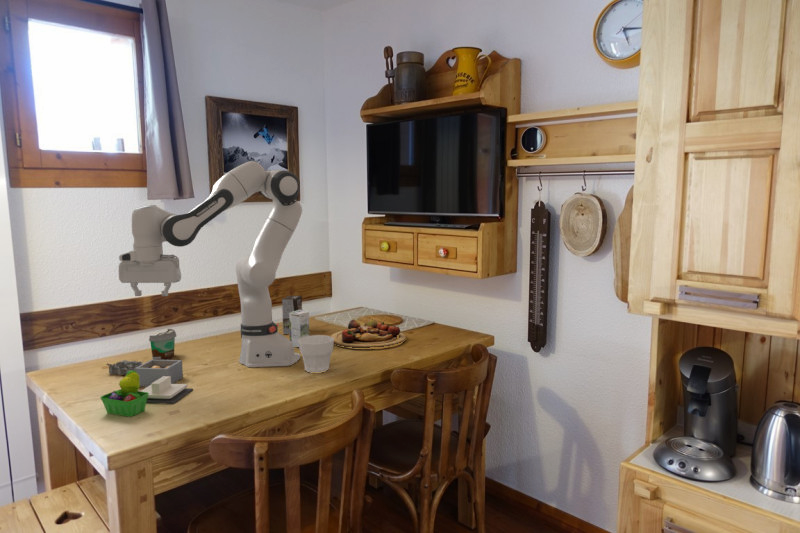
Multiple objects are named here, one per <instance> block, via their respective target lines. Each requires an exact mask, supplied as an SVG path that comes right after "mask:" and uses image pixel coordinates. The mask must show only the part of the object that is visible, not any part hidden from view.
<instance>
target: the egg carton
mask: <svg viewBox="0 0 800 533" xmlns="http://www.w3.org/2000/svg"><path fill="white" fill-rule="evenodd" d="M142 364H144V360H141V361H138V360H137V361H136V360H134V361H133V360H126V359H123V360H120V361H118V362H116V363H113V364H111V363H106V366H108V373H109V375H118V376H122V375H126V374H127V373H128V372H129V371H135V368H136V367H138V366H140V365H142Z"/></svg>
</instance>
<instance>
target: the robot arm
mask: <svg viewBox="0 0 800 533" xmlns="http://www.w3.org/2000/svg"><path fill="white" fill-rule="evenodd" d="M300 188H301V183H300V180H299V178H298V176H297V175H296V174H294V173H293V172H291V171H289V170H284V169H273V170H271V169H270V170H269V169H268V170H265V168H264V167H263V166H262V165H261V164H260V163H259V162H258V161H254V160H249V161H246V162H244V163H242V164H240V165H238V166H235V167H234V168H233V169H231V170H229V171H228V172H226V173H225V174H224V175H222V176H221V177H220V178H219V179H217V181H215V183H214V184H213V186H212V188H211V193H210V195H209V196H208V197H207V198H206V199H205V200H204V201H202V202H201V203H199V204H198V205H196V206H195V207H194V208H193V209H191V210H190V211H189V212H186V213H182V214H175V213H172V212H170V211H166V210H164V209H162V208H160V207H159V206H157V205H156V204H150V205H143V206H140V207H137V208H135V209H134V210H133V211H132V214H131V234H132V236H133V245H132V247H133V248H132V249H133V250H130V251H128V252H125V253H122V254H120V255H119V256H118V259H119V261H120V263H119V264H118V280H119V281H120V283H122V284H130V287H131V289H132V290H133V291H134V296H135V297H141V296H142V295H143V293H142V292H143V291H142V290H141V289H139V287H138V286H139V284H146V283H147V284H163V285H164V289H163V290H161V291H160V292H161V296H162V297H168V296H169V291H170V288H171V287H172V284H174V283H175V284H176V283H179V282H180V281H181V280H182V273H181V268H180V259H179V257H178V256H177V255H175V254H164V251H163V243H164V242H166V243H169V244H170V245H172V246H174V247H178V248H179V247H181V248H182V247H186V246H188V245H190V244H191V243H193V241H195V239H196V237H197V235H198V234H199V232H200V231H201V229H203V227H204V226H205V225H208V223H210V222H211V221H212V220H214V219H215V218H216V217H217V216H219V215H221V214H222V213H223V212H225V211H227V210H229V209H231V208H234V207H236V206H238V205H239V204H241V203H242V202H244V201H245V200H247V199H248V198H250V197H251V196H252V195H253V194H256V193H259V194H260V195H261V196H262V197H264V198H265V199H268V200H272V207H271V211H270V212H269V214H268V216H267V218H266V219H265V221H264V222H263V224H262V226H261V227H260V230H259V232H258V234H257V235H256V238H255V242H254V245H253V249H252V250H251V253H250V254H249V255H247V254H246V255H244V256H243V257H241V258H239V260H237V262H236V265H235V273H236V280H237V281H236V282H237V288H238V295H239V300H240V315H241V316H240V317H241V323H240V338H241V349H240V355H239V359H238V362H239V363H240V364H241V365H244V366H245V367H248V368H258V367H259V368H260V367H261V368H263V367H265V368H266V367H267V368H268V367H269V368H270V367H289V366H292V365H295V364H296V363H298V362H299V361H300V360H301V358H300V357H301V353H299V352H295V348H294V347H293V344H292V342H291V341H290V338H289V339H288V338H287V337H285V335H284V334H281V333H280V332H279V331H278V330H279V329H278V327H279V323H275V322H274V321H273V307H272V299H271V295H270V291H269V286H271V285H272V284H273V283H274V281H275V280H276V275H277V274H276V273H277V270H278V268H279V265H280V262H281V259H282V257H283V254H284V251H285V249H286V247H287V246H288V244H289V242H290V240H291V238H292V236H293V234H294V232H295V230H296V228H297V226H298V224H299V222H300V219H301V217H302V213H303V207H302V205H301V203H300V202H299V201H298V200H299V198H300V196H299V195H300ZM299 359H300V360H299ZM298 360H299V361H298ZM297 361H298V362H297ZM295 362H296V363H295ZM294 363H295V364H294Z"/></svg>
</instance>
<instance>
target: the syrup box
mask: <svg viewBox="0 0 800 533" xmlns="http://www.w3.org/2000/svg"><path fill="white" fill-rule="evenodd" d="M289 321H290V335H289V340H290V341H291V342H292V344H293V347H299V342H298V340H299V339H300V338H302V337H306V336H310V312H309V311H308V310H304V309H302V310H297V311H294V312H290V313H289Z"/></svg>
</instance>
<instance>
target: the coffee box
mask: <svg viewBox="0 0 800 533" xmlns="http://www.w3.org/2000/svg"><path fill="white" fill-rule="evenodd" d="M302 298H303V296H302V295H287V296H286V297H283V298H282V299H281V301H282V302H281V304H282V305H281V306H282V335H284V334H290V321H289V313H290V312H294V311H297V310H303V299H302Z"/></svg>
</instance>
